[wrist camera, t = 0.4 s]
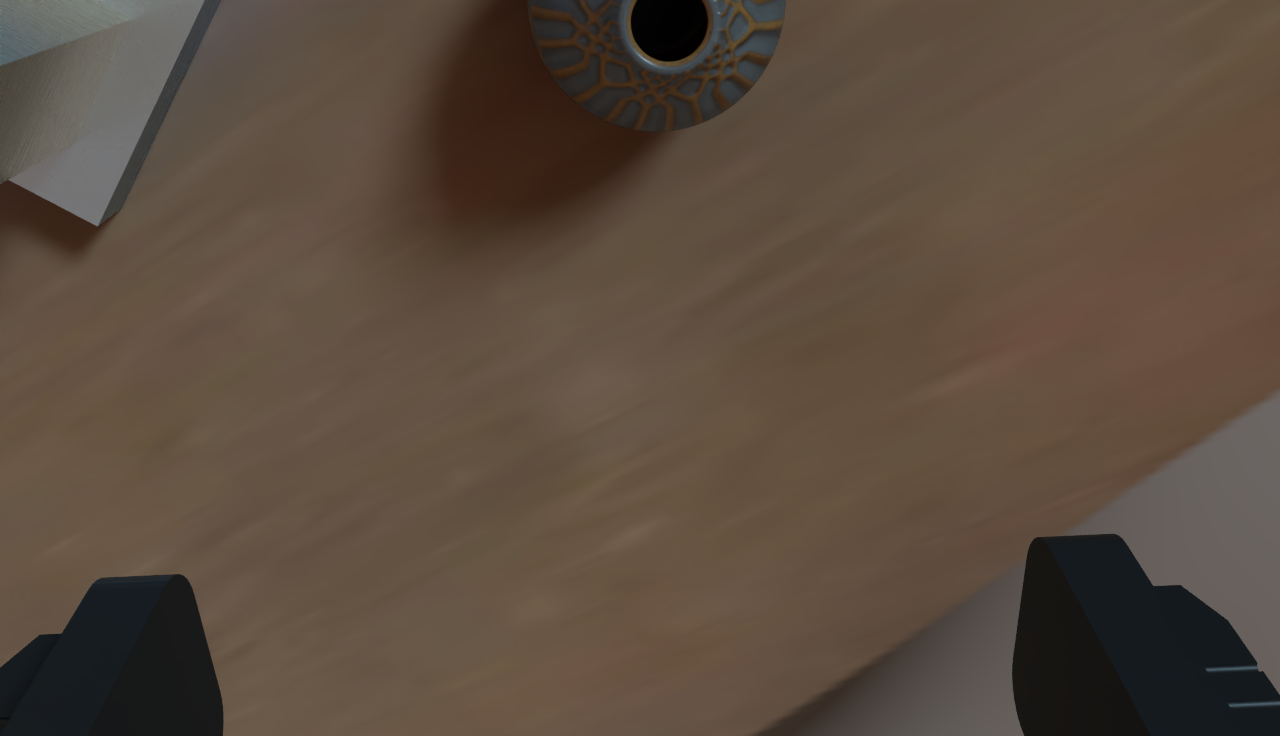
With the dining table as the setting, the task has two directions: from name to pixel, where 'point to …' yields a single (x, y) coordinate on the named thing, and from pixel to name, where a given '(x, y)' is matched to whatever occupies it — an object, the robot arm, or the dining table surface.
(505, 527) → the dining table surface
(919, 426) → the dining table surface
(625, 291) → the dining table surface
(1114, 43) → the dining table surface
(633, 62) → the vase
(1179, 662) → the robot arm
